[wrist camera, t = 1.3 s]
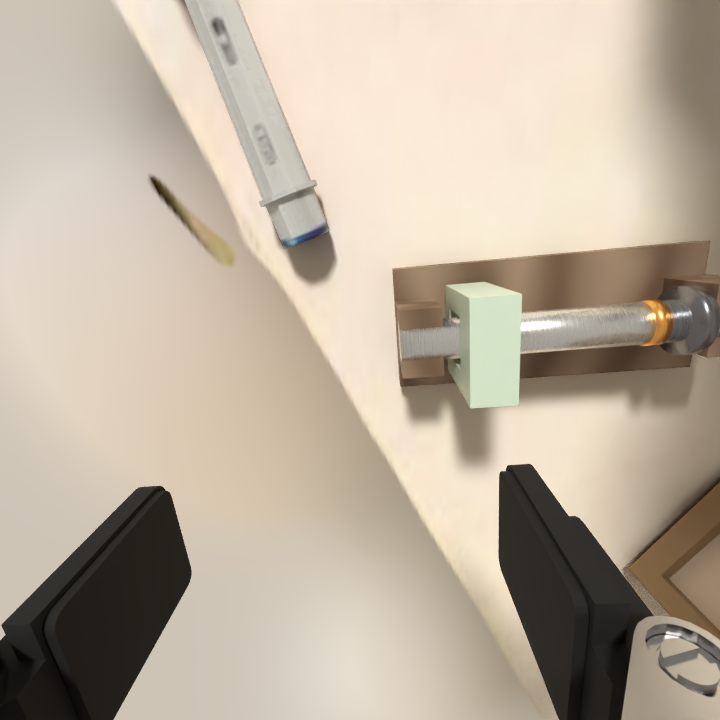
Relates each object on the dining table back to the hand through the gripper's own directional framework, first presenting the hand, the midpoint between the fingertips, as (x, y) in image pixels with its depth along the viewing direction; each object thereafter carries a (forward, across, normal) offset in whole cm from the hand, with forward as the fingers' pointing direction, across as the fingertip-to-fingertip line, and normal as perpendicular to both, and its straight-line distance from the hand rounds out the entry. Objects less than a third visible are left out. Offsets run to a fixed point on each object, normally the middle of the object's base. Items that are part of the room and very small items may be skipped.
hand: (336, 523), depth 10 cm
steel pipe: (+21, -15, 0) cm, 26 cm away
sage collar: (+22, -8, 0) cm, 24 cm away
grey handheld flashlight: (+25, +7, -20) cm, 33 cm away
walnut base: (+24, -15, 0) cm, 28 cm away
